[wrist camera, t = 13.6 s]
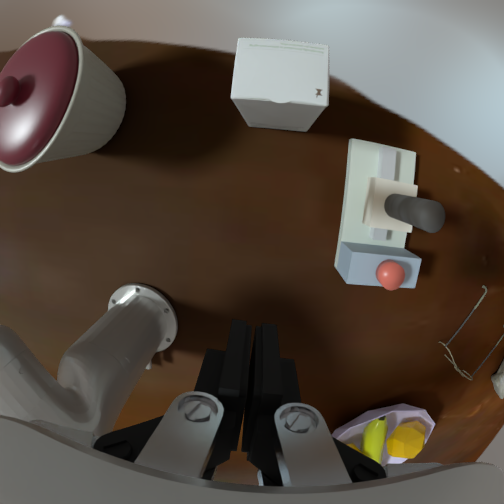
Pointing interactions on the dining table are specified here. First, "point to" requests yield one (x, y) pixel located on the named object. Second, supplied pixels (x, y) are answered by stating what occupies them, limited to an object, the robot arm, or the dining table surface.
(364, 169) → the rail board
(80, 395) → the robot arm
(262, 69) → the skincare box
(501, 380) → the ceramic sculpture
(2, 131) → the canister
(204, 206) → the dining table surface
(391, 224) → the carriage
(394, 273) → the button
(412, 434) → the fruit bowl
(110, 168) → the dining table surface
